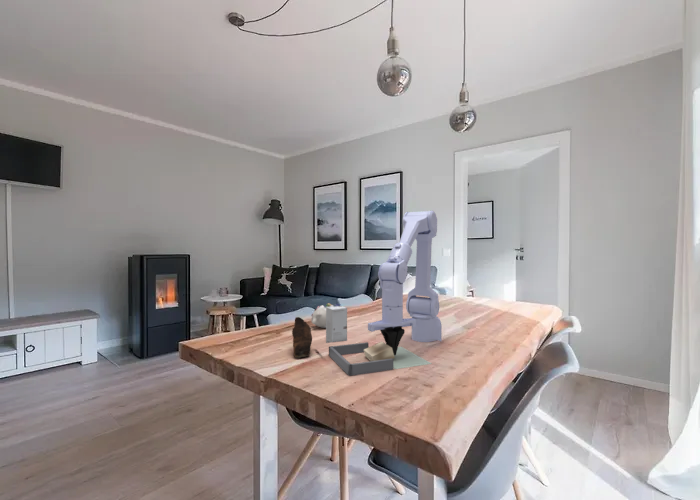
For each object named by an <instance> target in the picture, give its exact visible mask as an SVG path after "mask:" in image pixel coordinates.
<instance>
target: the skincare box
mask: <svg viewBox="0 0 700 500" xmlns="http://www.w3.org/2000/svg"><path fill="white" fill-rule="evenodd" d="M326 307H327V306H326ZM326 307H325V308H326ZM347 341H348V307H346V306H341V305H339V306H338V305H337V306H334V307H327V308H326V328H325V344H328V343H338V342H347Z"/></svg>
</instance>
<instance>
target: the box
mask: <svg viewBox="0 0 700 500" xmlns="http://www.w3.org/2000/svg"><path fill="white" fill-rule="evenodd" d="M368 347H369V342H367V341H366V342H359V343H350V344H349V343H348V344H340V345H339V344H338V345H331V346H328V357H330V358H331V360H332V361H333V362H334V363H335V364H337V366H338V367H339V368H340V369H342V371H343V372H344V373H345V374H346V375H347V376H348V377H352V376H358V375H365V374H372V373H378V372H386V371H387V372H388V371H392V370H394V368H393V359H392V358H391V359H384V360H377V361H370V360H369V361H362V362H355V363H354V362H353V363H350V362H349V361H348V360H347V359H346V358H345V357H344V356H343V355H353V354H360V353H364V349H366V348H368Z"/></svg>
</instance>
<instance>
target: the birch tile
mask: <svg viewBox="0 0 700 500" xmlns="http://www.w3.org/2000/svg"><path fill="white" fill-rule="evenodd" d="M363 353H364V355H365V356H364V357H365V358H367V359H368V360H369V361H377V360H384V359H391V358H392V359H393V358H395V357H394V353H393V350H392V347H390V346H389V345H387V344H386V342H383V341H380V342H378V343H375V344H373V345H371V346H368V348H366V349H364V352H363Z"/></svg>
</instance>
